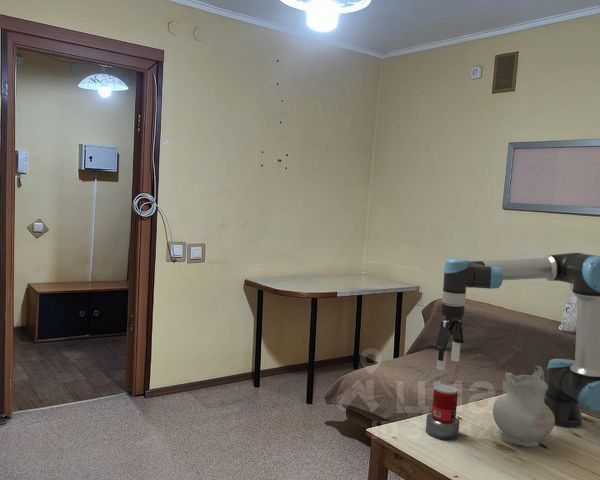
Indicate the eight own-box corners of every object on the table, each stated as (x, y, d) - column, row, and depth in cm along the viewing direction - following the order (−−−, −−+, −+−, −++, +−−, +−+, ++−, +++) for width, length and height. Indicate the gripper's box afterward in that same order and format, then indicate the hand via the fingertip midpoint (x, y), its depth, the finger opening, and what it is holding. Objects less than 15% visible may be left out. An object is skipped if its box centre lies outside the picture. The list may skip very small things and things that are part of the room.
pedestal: (462, 432, 180) (464, 419, 180) (451, 443, 171) (452, 429, 171) (432, 423, 187) (433, 409, 186) (420, 433, 178) (421, 419, 178)
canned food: (456, 425, 174) (459, 393, 174) (432, 421, 176) (434, 390, 175) (454, 416, 182) (456, 385, 181) (430, 412, 183) (433, 382, 183)
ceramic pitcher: (502, 423, 193) (503, 357, 192) (560, 436, 182) (561, 366, 181) (486, 444, 175) (486, 372, 174) (548, 459, 164) (549, 382, 163)
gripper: (455, 298, 188) (450, 355, 189) (428, 307, 168) (423, 370, 169) (475, 301, 183) (470, 359, 185) (450, 311, 163) (445, 376, 165)
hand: (448, 365), depth 177 cm, fingers open, 13 cm apart
